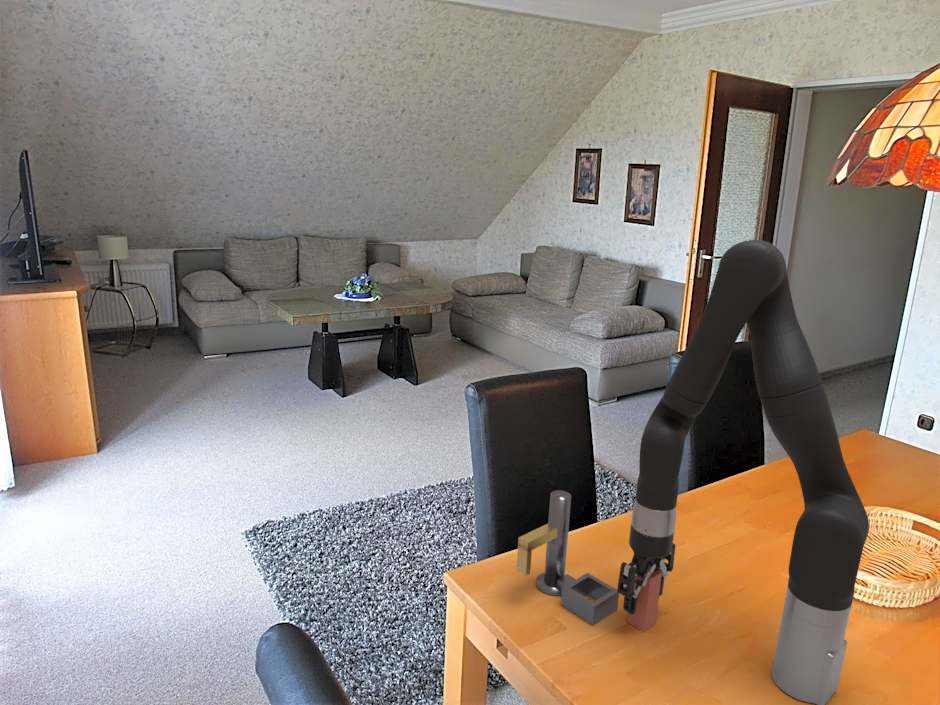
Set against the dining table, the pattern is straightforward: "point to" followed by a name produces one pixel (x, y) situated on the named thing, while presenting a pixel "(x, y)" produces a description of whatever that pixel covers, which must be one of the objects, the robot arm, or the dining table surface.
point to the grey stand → (555, 563)
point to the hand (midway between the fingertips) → (643, 602)
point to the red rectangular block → (646, 603)
